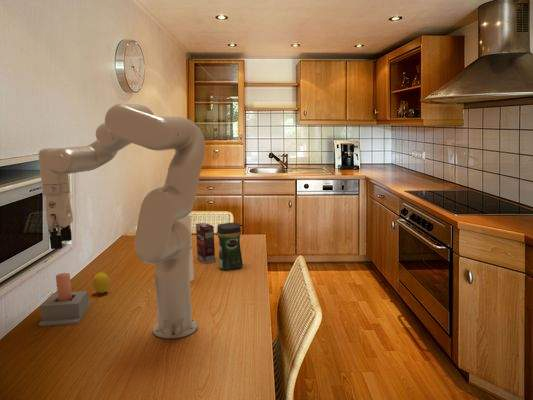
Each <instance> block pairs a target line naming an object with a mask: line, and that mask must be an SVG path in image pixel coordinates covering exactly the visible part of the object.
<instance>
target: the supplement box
mask: <svg viewBox="0 0 533 400" xmlns="http://www.w3.org/2000/svg"><path fill="white" fill-rule="evenodd" d="M195 235H196V251H197V252H196V253H197V255H196V256H197V260H199V261H201V262H202V263H205V264H211V263H215V262H216V253H215V252H216V249H215V228H214V225H212V224H210V223H207V222H199V223H195Z"/></svg>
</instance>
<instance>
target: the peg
mask: <svg viewBox="0 0 533 400" xmlns="http://www.w3.org/2000/svg"><path fill="white" fill-rule="evenodd" d="M55 281H56V290H57V292H56V293H58V302H60V301H71V300H72V292H73V291H72V283H71V282H72V281H71V274H70V273H69V272H62V273H58V274H56V275H55Z"/></svg>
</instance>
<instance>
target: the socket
mask: <svg viewBox="0 0 533 400" xmlns="http://www.w3.org/2000/svg"><path fill="white" fill-rule="evenodd" d="M71 292H72V300H71V301H60V302H58V293H57V292H52V293H51V294H50V295H49V296H48V297H47V298H46V299H45V300H44V302H43V303H41V305H40V306H39V309H40V316H41V317H40V318H41V320H40V322H39V323H38V326H39V327H49V326H51V327H52V326H61V325H62V326H63V325H76V324H79V323H80V321H81V319H82V318H83V316H84V315H85V314H86V312H87V311H88V309H89V307H90V306H91V304H92V302H91V300H89V299H90V298H89V291H88V290H85V291H84V290H83V291H82V290H80V291H79V290H78V291H71Z"/></svg>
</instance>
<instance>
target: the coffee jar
mask: <svg viewBox="0 0 533 400" xmlns="http://www.w3.org/2000/svg"><path fill="white" fill-rule="evenodd" d="M216 236H217V238H218V243H219V249H218V267H219V269H220V270H223V271H231V270H237V269H241V268H242V267H243V266H244V265H243V256H242V249H241V243H240V242H241V240H240V239H241V236H242V229H241V225H240V223H238V222H236V221H235V222H226V223H219V224H217V229H216Z"/></svg>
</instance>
